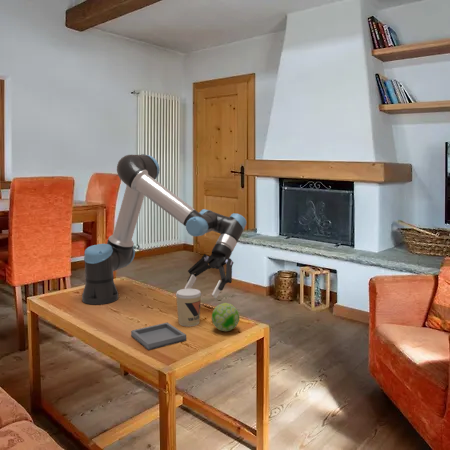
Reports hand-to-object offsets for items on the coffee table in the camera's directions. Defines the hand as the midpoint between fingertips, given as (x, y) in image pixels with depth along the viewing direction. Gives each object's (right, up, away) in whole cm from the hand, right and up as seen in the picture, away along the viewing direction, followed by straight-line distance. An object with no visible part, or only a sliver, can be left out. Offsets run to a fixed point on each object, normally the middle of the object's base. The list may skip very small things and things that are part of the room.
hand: (200, 293), depth 174 cm
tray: (-13, -13, -16) cm, 25 cm away
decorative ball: (+10, -12, -9) cm, 18 cm away
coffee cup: (-4, -11, -2) cm, 12 cm away
